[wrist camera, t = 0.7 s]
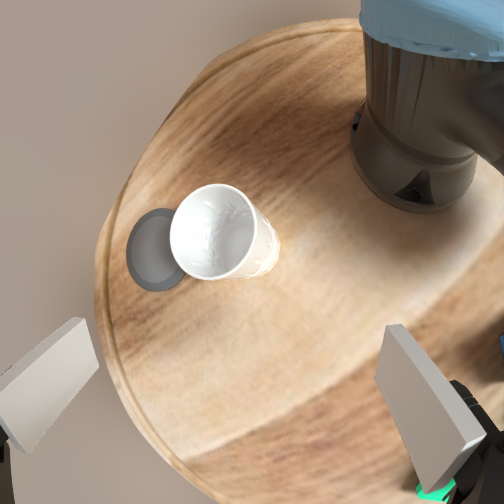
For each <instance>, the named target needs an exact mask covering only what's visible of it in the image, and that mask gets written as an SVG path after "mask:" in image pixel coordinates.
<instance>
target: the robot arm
mask: <svg viewBox="0 0 504 504" xmlns="http://www.w3.org/2000/svg"><path fill="white" fill-rule="evenodd" d="M359 22H360V26H361V27H362V30H363V41H364V53H365V70H366V96H365V98H364V100H363V101H362V103H361V105H360V106H359V108H358V110H357V111H356V113H355V115H354V118H353V121H352V124H351V130H350V145H351V154H352V159H353V162H354V165H355V167H356V169H357V171H358V173H359V175H360V177H361V178H362V180H363V181H364V182H365V184H366V185H367V186H368V187H369V188H370V189H371V190H372V191H373V192H374V193H375V194H376V195H377V196H378V197H380V198H381V199H382V200H384V201H385V202H387V203H389V204H390V205H392V206H394V207H397V208H399V209H402V210H405V211H409V212H414V213H433V212H437V211H440V210H443V209H445V208H447V207H449V206H451V205H452V204H453V203H455V202H456V201H457V200H458V199H459V198H460V197H461V196H462V195H463V194H464V193H465V192H466V190H467V189H468V187H469V186H470V184H471V182H472V179H473V177H474V173H475V168H476V162H477V155H480V156H481V157H482V158H483V159H485V160H486V161H487V162H488V163H490V164H491V165H492V166H493V167H495V168H496V169H497V170H498V171H499V172H500V173H501V174H502V175H503V176H504V0H361V12H360V14H359ZM98 367H99V365H98V361H97V358H96V355H95V352H94V348H93V345H92V342H91V338H90V335H89V331H88V327H87V323H86V319H85V318H80V317H73V318H71V319H70V320H68V321H67V322H66V323H65V324H63V325H62V326H61V327H59V328H58V329H57V330H56V331H54V332H53V333H52V334H51V335H49V336H48V337H47V338H46V339H44V340H43V341H42V342H41V343H39V344H38V345H37V346H36V347H35V348H33V349H32V350H31V351H30V352H28V353H27V354H26V355H25V356H24V357H22V358H21V359H20V360H19V361H18V362H16V363H15V364H14V365H12V366H11V367H10V368H9V369H8V370H7V371H5V373H3V374H2V375H1V376H0V504H15V501H14V494H13V486H12V477H11V466H10V448H9V445H8V443H7V442H6V440H8V438H10V440H11V441H12V443H13V444H14V445H15V447H16V448H17V449H19V450H20V451H22V452H23V453H25V454H27V455H28V456H29V455H30V453H31V452H32V451H33V449H34V448H35V447H36V445H37V444H38V443H39V441H40V440H41V439H42V437H43V436H44V435H45V433H46V432H47V431H48V430H49V428H50V427H51V426H52V424H53V423H54V422H55V421H56V419H57V418H58V417H59V416H60V414H61V413H62V412H63V411H64V409H65V408H66V407H67V405H68V404H69V403H70V402H71V401H72V399H73V398H74V397H75V396H76V394H77V393H78V392H79V391H80V390H81V388H82V387H83V386H84V385H85V383H86V382H87V381H88V380H89V379H90V377H91V376H92V375H93V374H94V373H95V371H96V370H97V369H98ZM374 379H375V381H376V383H377V385H378V387H379V389H380V392H381V394H382V396H383V398H384V400H385V402H386V404H387V406H388V409H389V411H390V413H391V415H392V417H393V420H394V422H395V424H396V426H397V428H398V431H399V433H400V435H401V438H402V440H403V442H404V444H405V447H406V449H407V452H408V454H409V456H410V459H411V461H412V463H413V466H414V468H415V471H416V473H417V476H418V478H419V481H420V483H421V486H422V489H423V491H424V494H425V495H426V494H429V493H431V492H434V491H437V490H439V489H441V488H444V487H445V486H446V485H447V484H448V483H449V482H450V481H451V479H452V478H454V480H455V483H456V484H455V485H454V486H453V487H452V488H451V489H450V491H449V492H448V493H447V494H446V495H445V496H444V497H443V499H442V500H441V501H445V500H446V499H447V498H448V497H449V499H448V501H447V504H504V431H501V432H500V431H499V430H498V428H497V427H496V426H495V424H494V423H493V422H492V420H491V419H490V417H489V416H488V415H487V413H486V412H485V411H484V409H483V408H482V407H481V406H480V405H478V402H477V400H476V399H475V398H473V395H472V394H471V393H470V391H469V390H468V389H467V388H466V387H465V386H464V385H462V384H461V383H459V382H458V381H456V380H453V381H448V380H447V379H446V377H445V376H444V375H443V373H442V372H441V371H440V370H439V368H438V367H437V366H436V365H435V363H434V362H433V361H432V360H431V358H430V357H429V356H428V355H427V353H426V352H425V351H424V350H423V349H422V347H421V346H420V345H419V344H418V343H417V341H416V340H415V339H414V338H413V337H412V335H411V334H410V333H409V332H408V331H407V330H406V328H405V327H404V326H403V325H402V324H398V325H387V326H386V328H385V333H384V338H383V343H382V347H381V352H380V356H379V360H378V364H377V368H376V372H375V376H374Z"/></svg>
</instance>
